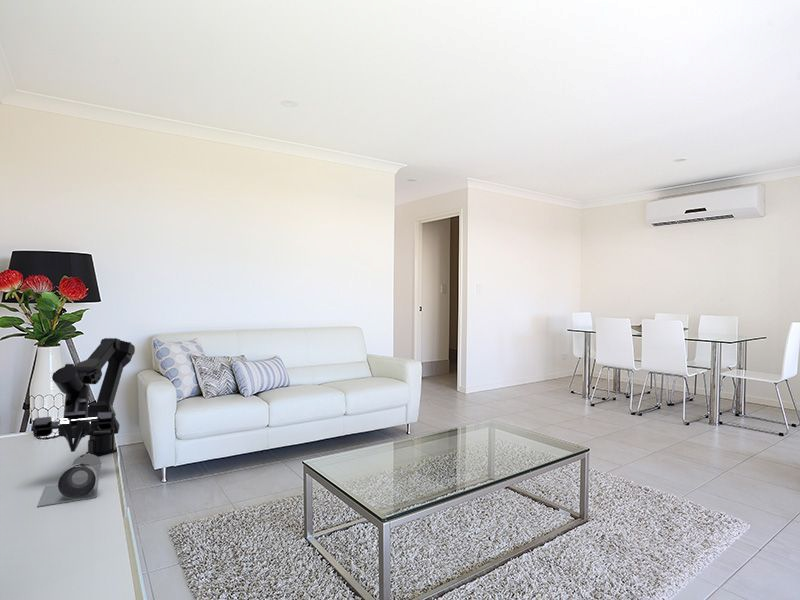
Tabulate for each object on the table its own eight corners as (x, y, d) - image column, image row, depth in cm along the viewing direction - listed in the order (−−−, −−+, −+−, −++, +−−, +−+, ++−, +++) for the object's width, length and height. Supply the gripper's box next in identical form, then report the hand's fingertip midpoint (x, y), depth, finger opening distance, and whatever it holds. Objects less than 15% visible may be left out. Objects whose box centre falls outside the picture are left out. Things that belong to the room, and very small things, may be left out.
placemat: (45, 487, 127) (45, 486, 127) (98, 479, 133) (98, 478, 133) (37, 507, 115) (37, 506, 115) (96, 497, 121) (96, 496, 121)
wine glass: (71, 452, 131) (60, 466, 118) (105, 452, 135) (98, 465, 121) (66, 482, 130) (55, 499, 117) (100, 481, 134) (93, 498, 120)
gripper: (114, 414, 148) (113, 460, 139) (39, 421, 139) (32, 471, 129) (114, 393, 141) (113, 440, 132) (35, 399, 132) (28, 450, 122)
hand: (72, 450), depth 129 cm, fingers closed
